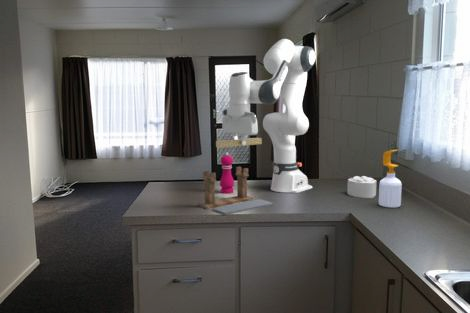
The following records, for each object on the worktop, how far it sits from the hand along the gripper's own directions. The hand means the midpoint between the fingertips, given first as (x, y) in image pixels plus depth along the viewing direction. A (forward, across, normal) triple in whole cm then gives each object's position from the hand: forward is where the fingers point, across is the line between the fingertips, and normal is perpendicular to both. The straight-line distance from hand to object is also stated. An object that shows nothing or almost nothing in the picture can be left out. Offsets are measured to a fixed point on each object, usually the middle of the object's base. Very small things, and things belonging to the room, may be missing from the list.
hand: (239, 144), depth 183 cm
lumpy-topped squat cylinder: (+27, -18, -60) cm, 69 cm away
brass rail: (0, 0, 0) cm, 0 cm away
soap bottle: (+27, -38, -54) cm, 71 cm away
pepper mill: (+28, +27, -13) cm, 41 cm away
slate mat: (+27, -1, -1) cm, 27 cm away
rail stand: (+27, +10, 0) cm, 29 cm away
